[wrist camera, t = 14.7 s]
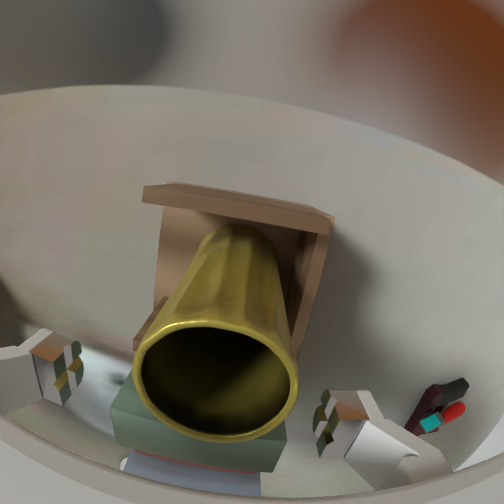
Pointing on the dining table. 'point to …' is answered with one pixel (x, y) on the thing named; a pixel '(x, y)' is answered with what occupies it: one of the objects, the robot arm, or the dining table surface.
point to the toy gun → (437, 407)
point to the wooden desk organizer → (167, 279)
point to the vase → (221, 344)
